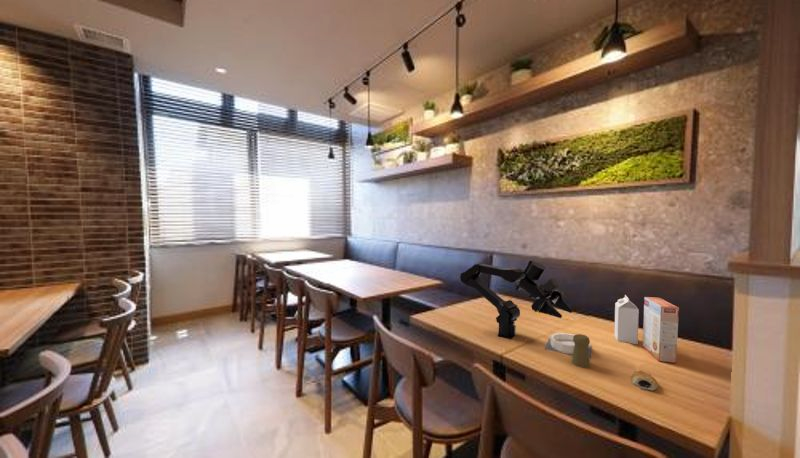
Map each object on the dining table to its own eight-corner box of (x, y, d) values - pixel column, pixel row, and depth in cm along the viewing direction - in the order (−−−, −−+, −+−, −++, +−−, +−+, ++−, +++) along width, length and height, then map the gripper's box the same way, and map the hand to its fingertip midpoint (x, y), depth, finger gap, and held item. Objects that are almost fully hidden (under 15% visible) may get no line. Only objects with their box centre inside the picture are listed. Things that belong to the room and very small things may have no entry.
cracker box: (677, 364, 117) (680, 307, 116) (658, 361, 119) (659, 305, 117) (659, 348, 130) (661, 297, 129) (641, 346, 132) (643, 296, 131)
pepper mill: (593, 370, 113) (593, 339, 112) (574, 368, 114) (575, 338, 114) (586, 362, 119) (587, 332, 118) (569, 360, 120) (569, 331, 120)
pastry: (630, 374, 110) (631, 364, 110) (655, 380, 106) (656, 369, 106) (631, 387, 102) (632, 375, 102) (658, 394, 98) (659, 382, 98)
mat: (544, 350, 129) (544, 349, 129) (549, 339, 140) (549, 338, 140) (591, 360, 121) (591, 358, 120) (592, 347, 132) (592, 346, 131)
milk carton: (633, 338, 140) (635, 295, 139) (637, 345, 134) (639, 299, 132) (614, 336, 143) (615, 293, 142) (617, 342, 136) (618, 297, 135)
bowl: (548, 350, 128) (548, 341, 128) (552, 338, 139) (553, 331, 139) (586, 357, 121) (586, 348, 121) (587, 345, 132) (587, 337, 132)
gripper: (531, 276, 125) (567, 303, 115) (553, 270, 137) (587, 294, 127) (518, 298, 130) (551, 326, 120) (540, 290, 142) (572, 315, 132)
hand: (566, 314), depth 125 cm, fingers open, 9 cm apart
